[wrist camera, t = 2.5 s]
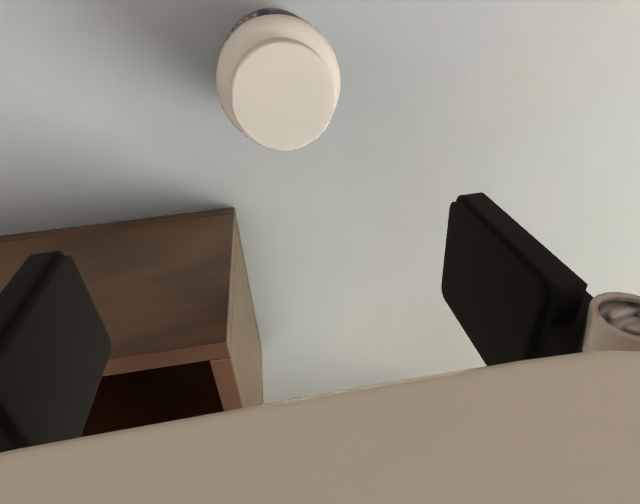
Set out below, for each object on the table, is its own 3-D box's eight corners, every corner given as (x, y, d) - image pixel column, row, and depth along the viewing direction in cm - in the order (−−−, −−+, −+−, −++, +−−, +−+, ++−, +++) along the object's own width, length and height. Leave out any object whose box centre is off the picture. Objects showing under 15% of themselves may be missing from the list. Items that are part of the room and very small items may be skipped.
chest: (234, 207, 28) (226, 341, 17) (261, 347, 35) (267, 506, 24) (-33, 239, 27) (-224, 409, 16) (48, 379, 34) (-47, 564, 23)
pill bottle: (242, -13, 22) (239, -15, 14) (334, 35, 24) (380, 58, 16) (210, 88, 24) (191, 138, 16) (296, 125, 26) (319, 186, 18)
